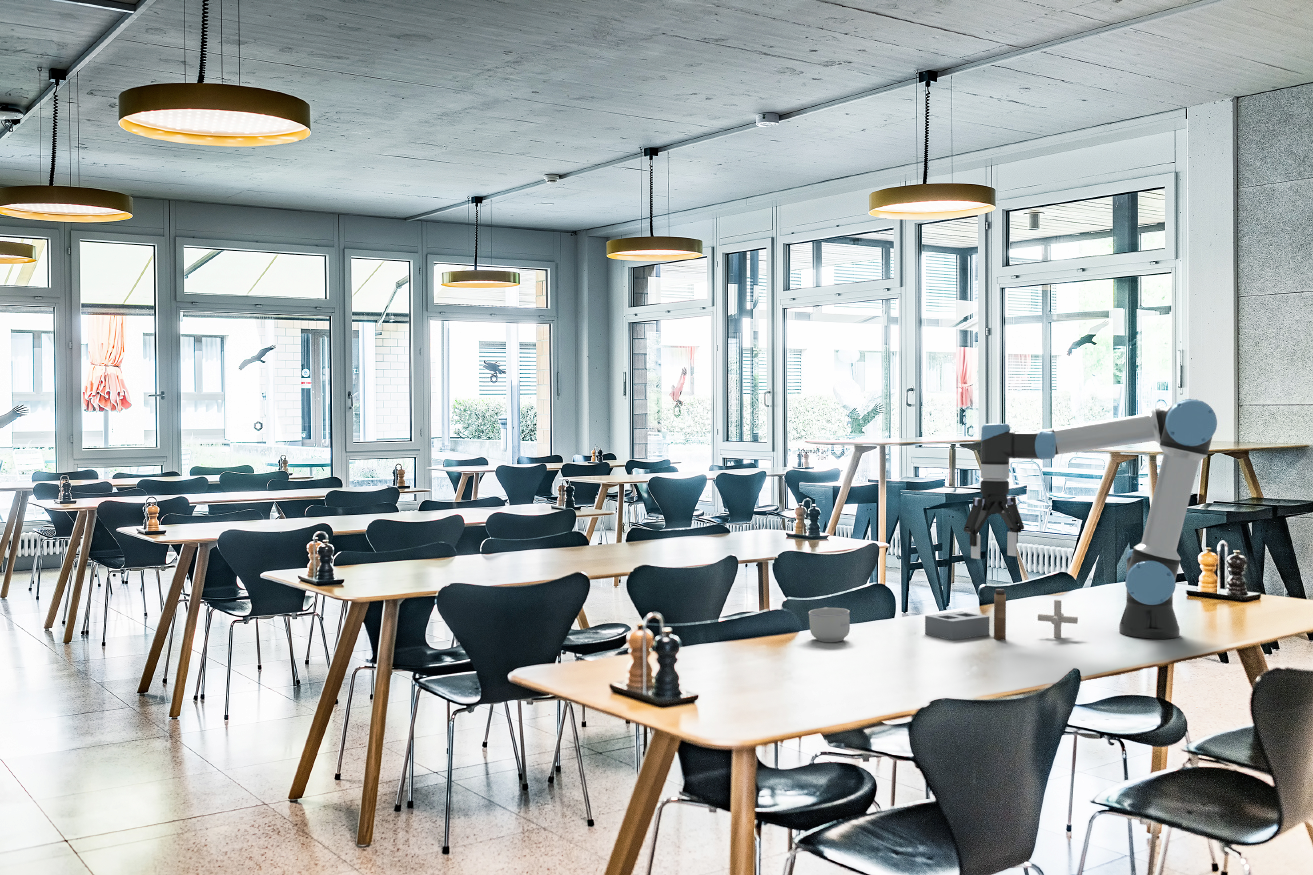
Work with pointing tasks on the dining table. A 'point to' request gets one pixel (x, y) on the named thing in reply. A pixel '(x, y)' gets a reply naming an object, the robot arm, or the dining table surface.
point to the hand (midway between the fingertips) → (993, 557)
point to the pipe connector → (1057, 618)
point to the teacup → (829, 624)
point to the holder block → (957, 625)
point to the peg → (1000, 614)
